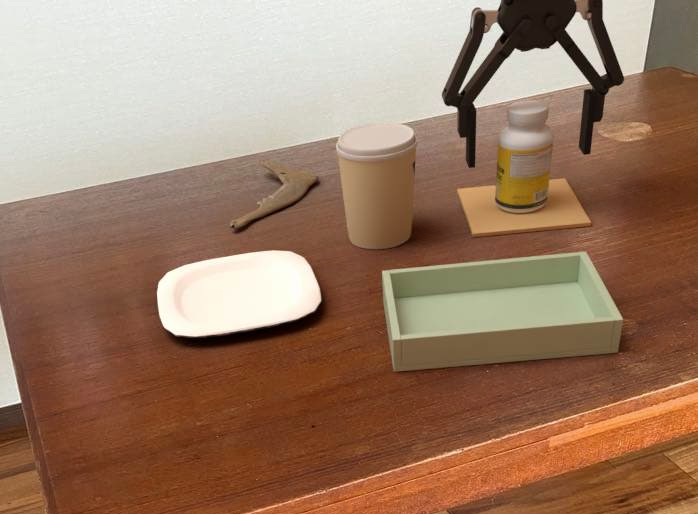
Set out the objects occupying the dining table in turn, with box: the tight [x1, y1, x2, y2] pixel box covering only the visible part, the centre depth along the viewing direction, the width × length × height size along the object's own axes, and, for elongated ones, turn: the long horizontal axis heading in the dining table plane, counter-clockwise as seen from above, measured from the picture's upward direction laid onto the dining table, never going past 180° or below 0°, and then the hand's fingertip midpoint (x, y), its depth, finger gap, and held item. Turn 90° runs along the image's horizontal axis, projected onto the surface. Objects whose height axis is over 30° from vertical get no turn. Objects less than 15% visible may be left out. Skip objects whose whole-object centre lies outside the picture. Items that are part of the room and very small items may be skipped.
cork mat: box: [457, 177, 592, 238], centre depth 111 cm, size 14×14×1 cm
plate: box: [156, 249, 322, 339], centre depth 100 cm, size 18×18×2 cm
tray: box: [381, 251, 624, 373], centre depth 90 cm, size 22×15×4 cm
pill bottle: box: [495, 99, 555, 213], centre depth 107 cm, size 6×6×12 cm
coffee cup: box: [335, 122, 418, 250], centre depth 106 cm, size 9×9×12 cm
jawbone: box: [229, 159, 319, 230], centre depth 120 cm, size 9×20×2 cm, turn 169°
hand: (527, 157), depth 107 cm, fingers open, 13 cm apart
